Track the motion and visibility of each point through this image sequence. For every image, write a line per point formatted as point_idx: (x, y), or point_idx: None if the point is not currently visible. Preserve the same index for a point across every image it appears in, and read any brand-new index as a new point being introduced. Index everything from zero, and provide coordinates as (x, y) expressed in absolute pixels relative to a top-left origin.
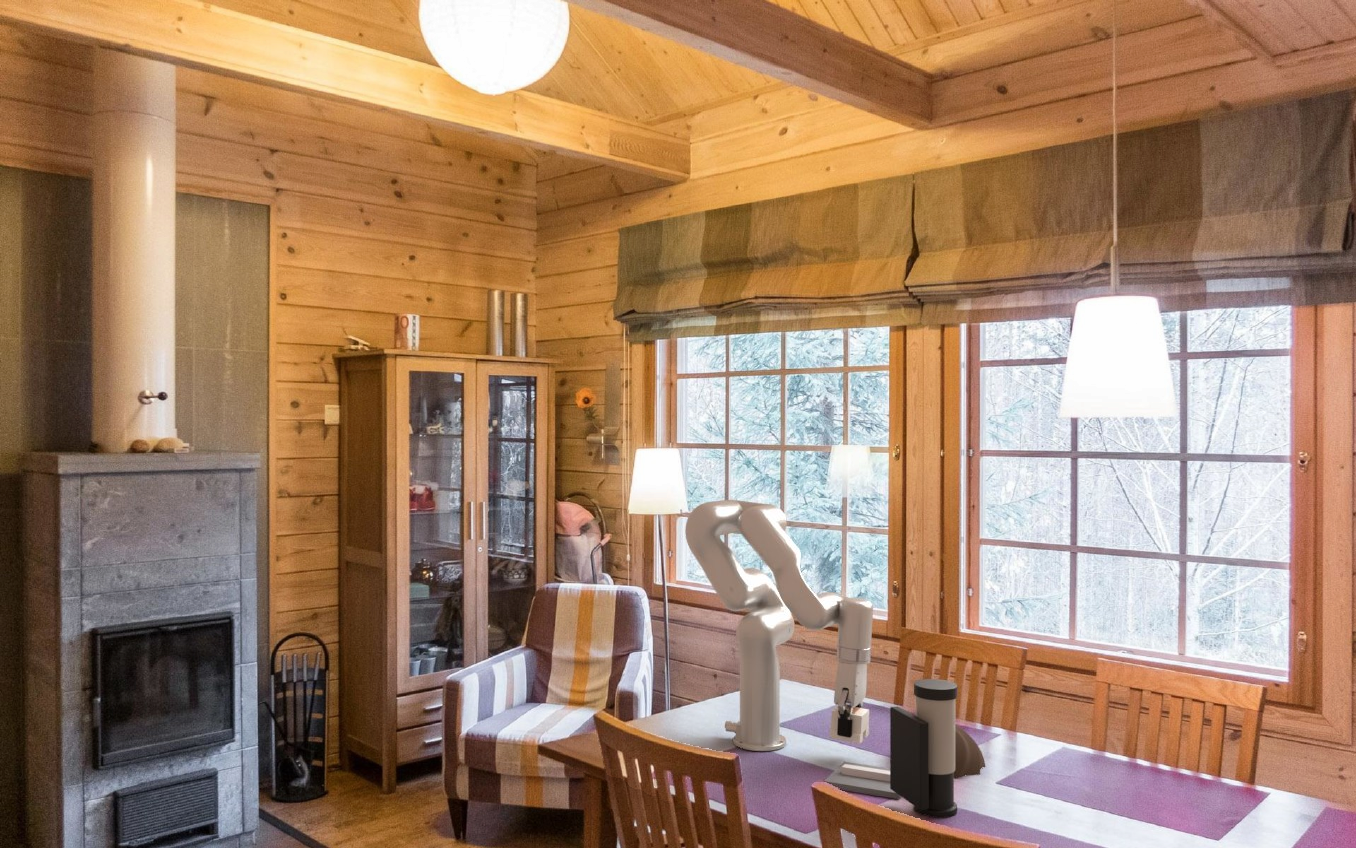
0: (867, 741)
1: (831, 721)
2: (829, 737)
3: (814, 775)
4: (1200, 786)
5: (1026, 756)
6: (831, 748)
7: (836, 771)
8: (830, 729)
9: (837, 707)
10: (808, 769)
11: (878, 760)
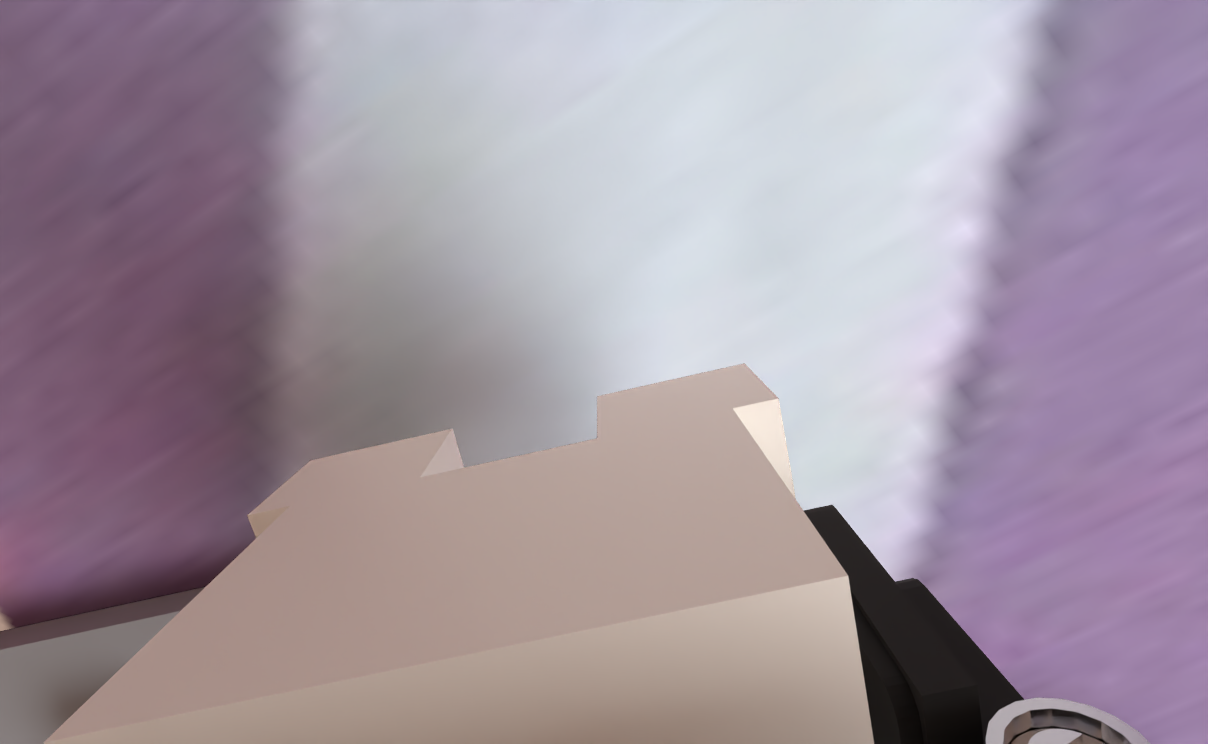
0: (1199, 346)
1: (226, 576)
2: (309, 462)
3: (41, 462)
4: None
5: None
6: (790, 182)
7: (105, 647)
8: (254, 522)
9: (461, 705)
10: (123, 341)
11: None
